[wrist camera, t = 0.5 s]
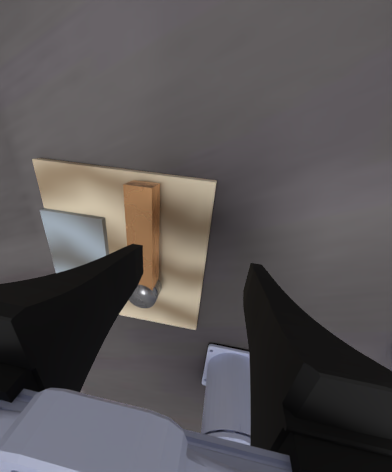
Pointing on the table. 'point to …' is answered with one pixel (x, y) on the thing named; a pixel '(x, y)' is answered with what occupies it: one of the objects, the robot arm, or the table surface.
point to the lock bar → (144, 236)
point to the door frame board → (114, 229)
